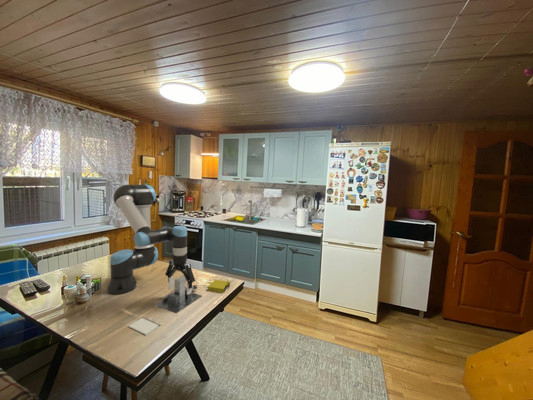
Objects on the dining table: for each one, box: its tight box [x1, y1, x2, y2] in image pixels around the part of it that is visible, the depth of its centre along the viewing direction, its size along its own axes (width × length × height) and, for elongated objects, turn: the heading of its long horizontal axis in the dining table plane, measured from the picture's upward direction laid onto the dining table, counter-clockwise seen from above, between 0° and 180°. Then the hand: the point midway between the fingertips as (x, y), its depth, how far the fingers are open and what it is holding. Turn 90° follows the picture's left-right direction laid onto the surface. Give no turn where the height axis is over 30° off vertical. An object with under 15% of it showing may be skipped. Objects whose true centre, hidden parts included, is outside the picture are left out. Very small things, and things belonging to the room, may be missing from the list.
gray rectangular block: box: [173, 274, 188, 303], centre depth 129 cm, size 4×7×12 cm, turn 155°
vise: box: [155, 284, 203, 314], centre depth 130 cm, size 16×23×6 cm
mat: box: [128, 317, 162, 336], centre depth 110 cm, size 12×16×1 cm
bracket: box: [204, 279, 231, 294], centre depth 145 cm, size 16×8×15 cm
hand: (179, 290), depth 128 cm, fingers open, 13 cm apart
